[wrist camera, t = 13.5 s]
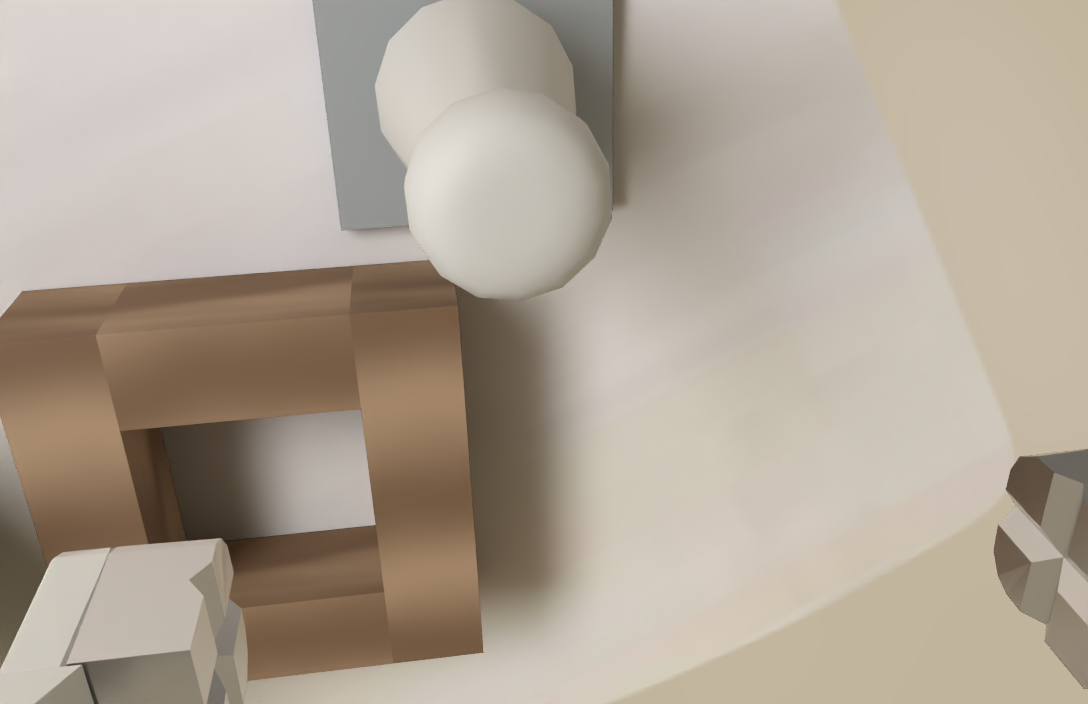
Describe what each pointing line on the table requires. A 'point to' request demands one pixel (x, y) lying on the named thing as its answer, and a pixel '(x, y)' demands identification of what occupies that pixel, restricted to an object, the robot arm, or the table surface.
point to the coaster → (352, 113)
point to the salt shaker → (493, 148)
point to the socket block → (249, 393)
